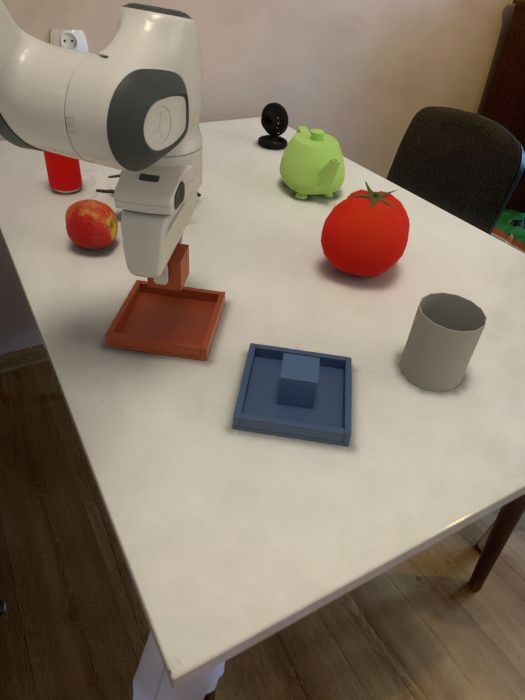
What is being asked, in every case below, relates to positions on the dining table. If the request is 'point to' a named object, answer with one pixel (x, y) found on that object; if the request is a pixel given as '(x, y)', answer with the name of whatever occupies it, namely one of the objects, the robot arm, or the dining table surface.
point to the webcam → (274, 126)
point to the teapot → (312, 163)
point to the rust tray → (167, 321)
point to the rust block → (176, 269)
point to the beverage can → (63, 172)
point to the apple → (91, 224)
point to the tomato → (366, 233)
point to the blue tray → (291, 421)
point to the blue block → (298, 380)
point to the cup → (441, 341)
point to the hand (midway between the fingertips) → (168, 269)
